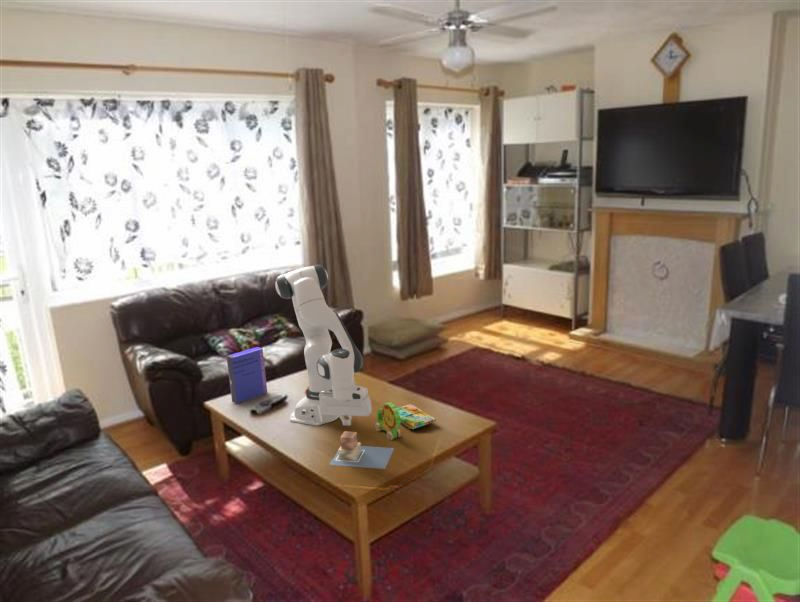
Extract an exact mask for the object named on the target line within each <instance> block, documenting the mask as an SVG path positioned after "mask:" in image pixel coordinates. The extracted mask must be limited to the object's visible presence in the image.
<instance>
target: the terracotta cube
mask: <svg viewBox="0 0 800 602" xmlns="http://www.w3.org/2000/svg"><path fill="white" fill-rule="evenodd" d="M339 438H340V446H341V449H348V450H354V448H355V447H356V445H357V444H358V443H357V442H358V432H357V431H346V430H345V431H343V433H342V434H341V436H340V437H339Z"/></svg>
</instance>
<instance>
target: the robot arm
mask: <svg viewBox="0 0 800 602" xmlns="http://www.w3.org/2000/svg"><path fill="white" fill-rule="evenodd" d="M328 284H329V275H328V272H327V270H326V268H325V267H324V266H323V265H321V264H313V265H311V266H305V267H300V268H298V269H295V270H292V271H288V272H286V273H282V274H280V275H278V276H277V277H276V279H275V285H274V286H275V291H276V293H277V294H278V295H279V296H280V298H281V299H284V300H289V299H290V300H292V304H293V305H292V306H293V308H294V309H293V310H294V312H295V315H296V320H297V323H298V326H299V328H300V329H301V331H302V333H303V336H304V339H305V346H304V348H303V350H304V351H303V353H304V354H303V355H304V361H305V366H306V370H307V376H308V377H307V379H308V386H307V388H306V389H305V391H304V395H305V396H304V397H303V398H301V399H300V400H299V401H297V403H296V405H295V408H294V411H293V412H292V413H291V414H290V416H289V421H290V422H292V423H296V424H297V423H299V424H304V425H305V424H306V425H311V426H317V427H318V426H321V425H324V424H329V423H331V422H333V421H334V422H335V420H337V419H338V418H339V419H340V420H341V422H342V426H351V425H352V419H353V417H356V416H357V417H369V416H370V415H371V414H372V412H373V406H372V401H371V397H370V396H369V394H368V393H369V390H368V388H367V387H364V386H361V385H358V384H356V381H355V378H354V374H357V373H358V372H359V371H361V369H362V367H363V365H364V357H363V356H362V352H361V351H360V350H359V348H357V346H356V345H355V343H354V341H353V339H352V337H351V335H350V333H349V331H348V329H347V327H346V326H345V324H344V322H343V320H342V317H340V315H339V314H338V313H337V311H333V310H332V309H331V308H330V307H329V306H328V304H327V303H326V300H325V296H324V294H323V291H322V289H324V288H326V287H327V285H328ZM329 331H331V332H333V334H334V335H335V337H336V340H337V341H338V343H339V344H340V346H341V348H336V349H333V350H332V351H331V349H332V345H333V342H332V341H333V340H332V337H331V335H330V332H329ZM345 416H347V417H348V419H346V418H345Z"/></svg>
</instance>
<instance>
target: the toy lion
mask: <svg viewBox="0 0 800 602" xmlns="http://www.w3.org/2000/svg"><path fill="white" fill-rule="evenodd" d="M396 408H397V407H396V405H395V404H393V403H392V402H387V403H386V402H385V403H384V404H383V406H382V407H381V408H379V409H378V410H377V412H376V423H375V424H374V429H375V431H378V432H381V431H385V432H386V438H387V440H389V441H393V440H394V439H396V438H397V437H398V438H401V436H402V432H401V430H400V429H399V427H400V425H401V423H400V415H399V412H398V410H397V409H396Z"/></svg>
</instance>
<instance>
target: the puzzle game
mask: <svg viewBox="0 0 800 602" xmlns="http://www.w3.org/2000/svg"><path fill="white" fill-rule="evenodd" d="M396 409H397V410H398V412H399V415H400V424H401V423H402V424H401V425H402V426H404V425H405V426H404V427H405V428H407V427H408V428H407V429H409V430H410V429H412V430H414V429H419V428H421V427H423V426H427V425H430V424H432V423H435V422H437V419H436V418H434V417H433V416H431V415H430V414H428V413H427V412H425V411H423V410H422V409H420V408H419V407H417V406H415V405H414V404H413V403H410V404H407V405H403V406H399V407H396Z"/></svg>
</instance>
